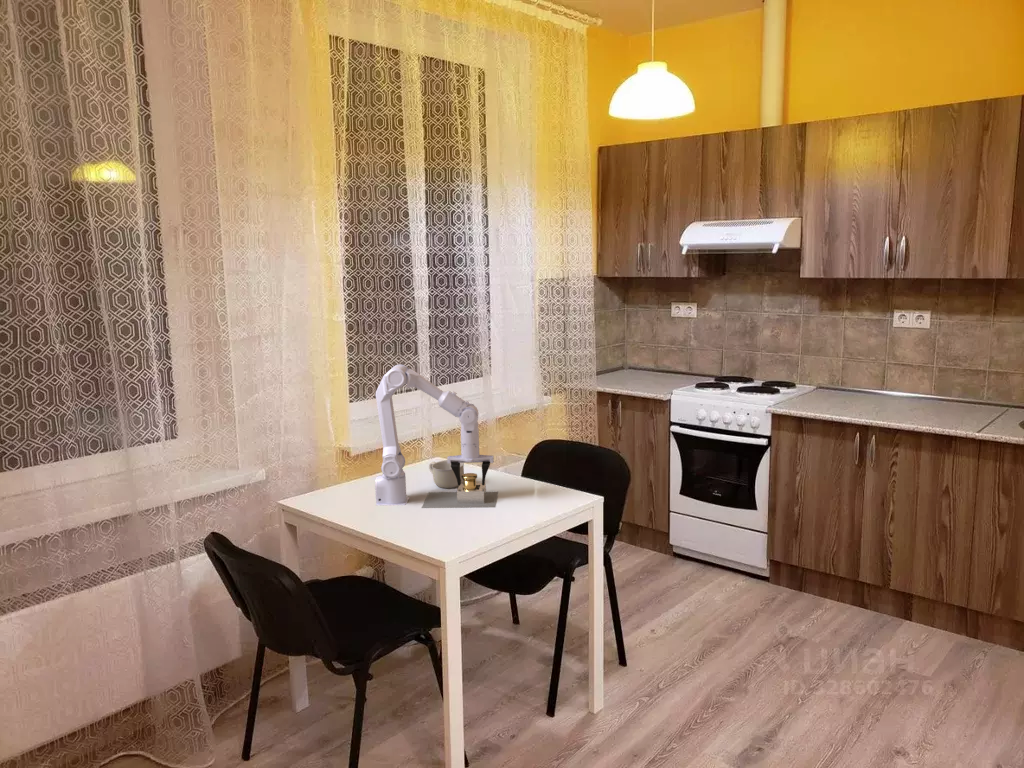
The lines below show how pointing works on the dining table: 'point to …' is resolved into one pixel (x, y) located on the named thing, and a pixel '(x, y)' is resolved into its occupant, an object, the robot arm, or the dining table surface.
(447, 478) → the teacup
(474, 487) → the brass door knob
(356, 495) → the dining table surface
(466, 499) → the block
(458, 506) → the mat
